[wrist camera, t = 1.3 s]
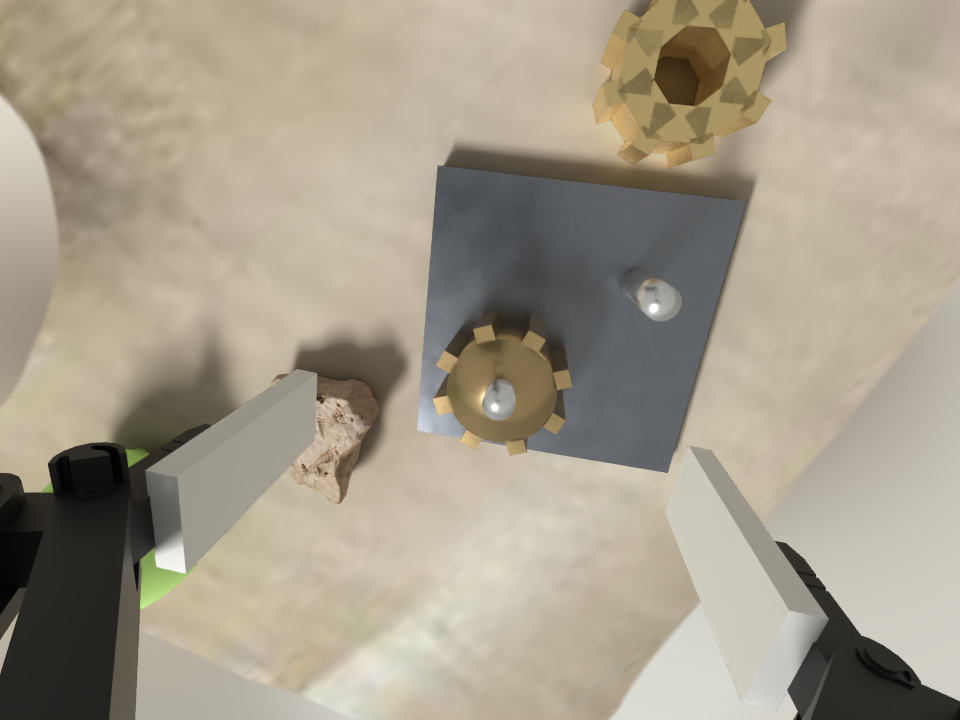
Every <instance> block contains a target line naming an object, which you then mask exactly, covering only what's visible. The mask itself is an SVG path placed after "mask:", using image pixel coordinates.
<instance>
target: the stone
mask: <svg viewBox="0 0 960 720" xmlns="http://www.w3.org/2000/svg"><path fill="white" fill-rule="evenodd" d="M287 375H289V374H282V375H278V376H277V377H276V378H275V379H274V380H272V385H274V384H275V383H277V382H278V381H280V380H281V379H283V378H284V377H286V376H287ZM272 385H271V386H272ZM379 412H380V409H379V407H378V403H377V400H376V399H375V398H374V397H373V393H372V390H371V388H370V387H369V386H368V385H367V384H366V383H364V382H362V381H359V380H355V379H350V380H348V381H345V380H340V381H337V380H335V379H329V378H326V377H321V376H317V397H316V427H315V441H314V442H313V443H312V444H311V445H310V446H309V447H308V448H307V449H306V450H305V451H304V452H303V453H302V454H301V455H300V456H299V457H298V458H297V459H296V460H295V461H294V462H293V463H292V467H291V474H292V477H293V478H294V480H295V481H296V482H297V483H298V484H306V485H307V486H308V487H310V488H312V489H314V490H316V491H318V492H320V493H321V494H322V495H323V496H325V497H326V498H327V499H328V500H330V501H331V502H333V503H334V504H340V503H341V502H342V500H343V499H344V497H345V496H346V494H347V489H348V485H349V479H350V476H351V474H352V469H353V467H354V465H355V463H356V461H357V460H358V457H359V453H360V447H361V443H362V440H363V438H364V436H365V435H366V433H367V431H368V429H369V428H370V427H371V426H372V424H373V423H374V421H375V419H377V416H378V414H379Z"/></svg>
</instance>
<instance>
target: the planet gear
mask: <svg viewBox="0 0 960 720" xmlns="http://www.w3.org/2000/svg"><path fill="white" fill-rule="evenodd" d="M785 49H787V43H786V31H785V22H783V23H780V24H778V25H775V26H772V27H769V28H766V29H765V27H764V25H763V24H762V22H761V20H760V18H759V17H758V15H757V13H756V11H755V10H754V8H753V6H752V4H751V2H750V1H749V0H651V2H650V4H649V6H648V8H647V10H646V12H645V14H644V15H643V16H642V17H641V18H639V17H638V16H636V15H634V14H633V13H631V12H630V11H628V10H626V9H625V10H624V12H623V14H622V16H621V17H620V19H619V21H618V23H617V25H616V26H615V28H614V30H613V32H612V34H611V36H610V39H609V42H608V44H607V47H606V49H605V52H604V54H603V57H602V60H601V63H602V64H604V65H605V66H607V67H609V68H610V69H612V76H611V81H610V82H607V83H604V84H602V87H601V89H600V91H599V93H598V95H597V97H596V99H595V101H594V104H593V107H594V112H595V117H596V123H597V124H599V123H602V122H605V121H608V120H611V121H612V122H613V124H614V125H615V127H616V128H617V130H618V132H619V133H620V135H621V136H622V138H623V139H624V141H625V143H624V144H623V146H622V148H621V149H620V151H619V153H618V154H617V155H618V156H620V157H622V158H623V159H625V160H627V161H628V162H630V163H631V164H634V163H636V162H638V161H639V160H641V159H643V158H645V157H647V156H649V155H650V153H651V152H653V153H663V154H667V159H668V166H669V168H671V167H675V166H678V165H681V164H685V163H688V162H691V161H694V160H697V159H700V158H703V157H706V156H709V155H712V154H715V147H714V139H713V136H714V135H715V134H717V135H719V136H720V137H724V136H726V135H728V134H731V133H733V132H736V131H738V130H740V129H743V128H745V127H748V126H750V125H752V124H755V123H757V121H758V120H759V118H760V117H761V115H762V114H763V113H764V111H765V110H766V108H767V107H768V105H769V104H770V103H771V101H772V100H770V99H769V98H767V97H765V96H764V95H762V94H761V93H759V92H758V88H759V85H760V81H761V77H762V74H763V70H764V67H765V63H766V62H767V61H769V60H770V59H772V58H773V57H775V56H776V55H778V54H779V53H781V52H782V51H784V50H785ZM661 57H672V58H683V59H687V60H688V62H689V63H690V65H691V67H692V68H693V70H694V71H695V73H696V75H697V76H698V78H699V80H700V81H699V85H698V89H697V93H696V98H695V102H694V106H688V105H678V104H669V103H668V101H667V100H666V98H665V97H664V95H663V93H662V92H661V90H660V89H659V87H658V85H657V84H656V82H655V81H654V76H655V71H656V67H657V62H658V60H659V59H660V58H661Z"/></svg>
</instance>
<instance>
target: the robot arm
mask: <svg viewBox="0 0 960 720" xmlns="http://www.w3.org/2000/svg"><path fill="white" fill-rule="evenodd" d="M316 397H317V373H314V372H309V371H304V370H299V369H296V370H295V371H293V372H292V373H290V374H289V375H287V376H286V377H284V378H283V379H281V380H280V381H278V382H277V383H275V384H274V385H272V386H271V387H269V388H268V389H266V390H265V391H263V392H262V393H260V394H259V395H257V396H256V397H254V398H253V399H252V400H250V401H249V402H247V403H246V404H244V405H243V406H241V407H240V408H238V409H237V410H235V411H234V412H232V413H231V414H229V415H228V416H226V417H225V418H223V419H222V420H220V421H219V422H217V423H216V424H214V425H208V424H204V425H201V426H199V427H196V428H193V429H190V430H187V431H185V432H184V433H182V434H181V435H179V436H177V437H176V438H174V439H173V440H172V441H171V442H168V443H166V444H165V445H163V446H162V447H160V449H159V450H155V451H154V452H152V453H151V454H149V455H147V456H146V457H144V458H143V459H141V460H139V461H138V462H136V463H135V464H133V465H132V466H130V467H128V460H127V453H126V450H125V448H124V447H123V446H121V445H119V444H115V443H108V442H101V443H90V444H85V445H80V446H76V447H73V448H70V449H67V450H65V451H63V452H61V453H59V454H58V455H56V456H54V457H53V458H52V459H51V461H50V462H49V463H48V467H49V472H50V477H51V482H52V487H53V492H43V493H24V490H23V486H22V482H21V480H20V478H19V476H16V475H13V474H10V473H0V639H1V638H2V636H3V635H4V633H5V632H6V630H7V629H8V627H9V626H10V624H11V622H12V621H13V620H14V618H15V617H16V615H17V614H18V612H19V614H18V618H17V621H16V624H15V627H14V631H13V634H12V637H11V640H10V644H9V647H8V650H7V654H6V657H5V660H4V663H3V667H2V670H1V673H0V720H135V710H136V686H137V666H138V643H139V642H138V641H139V621H140V599H141V577H142V568H141V559H142V558H143V557H144V556H145V555H146V554H147V553H149V552H150V551H151V550H152V549H153V548H154V551H155V560H156V567H159V568H163V569H167V570H172V571H176V572H180V573H185V574H186V573H187V572H188V571H189V570H190V569H191V568H192V567H193V566H194V565H195V564H196V563H197V562H198V561H199V560H200V559H201V558H202V557H203V556H204V555H205V553H206V552H207V551H208V550H209V549H210V548H211V547H212V546H213V545H214V544H215V543H216V542H217V541H218V540H219V539H220V538H221V537H222V536H223V535H224V534H225V533H226V532H227V531H228V530H229V529H230V528H231V527H232V526H233V525H234V523H235V522H236V521H237V520H238V519H239V518H240V517H241V516H242V515H243V514H244V513H245V512H246V511H247V510H248V509H249V508H250V507H251V506H252V505H253V504H254V503H255V502H256V501H257V500H258V499H259V498H260V497H261V496H262V495H263V493H264V492H265V491H266V490H267V489H268V488H269V487H270V486H271V485H272V484H273V483H274V482H275V481H276V480H277V479H278V478H279V477H280V476H281V475H282V474H283V473H284V472H285V471H286V470H287V469H288V468H289V467H290V466H291V465H292V463H293V462H294V461H295V460H296V459H297V458H298V457H299V456H300V455H301V454H302V453H303V452H304V451H305V450H306V449H307V448H308V447H309V446H310V445H311V444H312V443H313V442H314V441H315V427H316ZM665 514H666V516H667V519H668V521H669V524H670V526H671V529H672V531H673V534H674V536H675V539H676V541H677V544H678V546H679V549H680V551H681V554H682V556H683V559H684V561H685V564H686V566H687V569H688V571H689V574H690V576H691V579H692V581H693V584H694V586H695V589H696V591H697V594H698V596H699V598H700V601H701V603H702V606H703V608H704V611H705V613H706V616H707V618H708V621H709V623H710V626H711V628H712V631H713V633H714V636H715V638H716V641H717V643H718V646H719V648H720V651H721V653H722V656H723V658H724V661H725V663H726V666H727V668H728V671H729V673H730V676H731V678H732V680H733V683H734V685H735V688H736V690H737V693H738V695H739V698H740V700H741V703H742V704H747V705H751V706H755V707H759V708H764V709H768V710H773V711H776V712H777V711H778V710H779V708H780V706H781V704H782V703H783V701H784V699H785V697H786V695H787V693H789V695H790V697H791V699H792V701H793V702H794V704H795V706H796V708H797V710H798V713H797V714H796V716H795V718H794V719H793V720H960V701H958V700H956V699H954V698H951V697H949V696H947V695H945V694H942V693H940V692H938V691H935V690H933V689H931V688H929V687H927V686H924V685H922V684H921V681H920V680H919V678H918V677H917V675H916V674H915V673H914V671H913V670H912V669H911V668H910V666H908V665H907V664H906V663H905V662H904V661H903V660H902V659H901V658H900V657H899V656H898V655H896V654H894V653H893V652H892V651H891V650H889V649H887V648H886V647H885V646H883V645H882V644H880V643H878V642H876V641H874V640H872V639H870V638H867V637H864V636H861V635H860V633H859V632H858V631H857V629H856V628H855V627H854V625H853V624H852V622H851V621H850V620H849V618H848V617H847V616H846V614H845V613H844V612H843V610H842V609H841V608H840V606H839V605H838V604H837V602H836V601H835V600H834V598H833V597H832V596H831V594H830V593H829V592H828V591H826V588H825V586H824V585H823V584H822V582H821V581H820V580H819V578H816V574H815V573H814V571H813V570H812V569H811V567H810V566H809V565H808V563H807V562H806V561H805V559H804V558H803V557H801V556H800V555H799V554H798V553H796V551H794V550H793V549H792V548H791V547H789V545H787V544H786V543H783V542H777V541H774V540H773V538H772V537H771V535H770V534H769V532H768V531H767V529H766V528H765V527H764V525H763V524H762V522H761V521H760V519H759V518H758V517H757V515H756V514H755V512H754V511H753V509H752V508H751V506H750V505H749V504H748V502H747V501H746V499H745V498H744V496H743V495H742V494H741V492H740V491H739V489H738V488H737V486H736V485H735V483H734V482H733V481H732V479H731V478H730V476H729V475H728V473H727V472H726V470H725V469H724V468H723V466H722V465H721V463H720V462H719V460H718V459H717V458H716V456H715V455H714V453H713V452H712V450H707V449H702V448H697V447H692V446H688V448H687V451H686V454H685V457H684V460H683V462H682V465H681V468H680V471H679V474H678V477H677V479H676V482H675V485H674V488H673V491H672V494H671V496H670V499H669V502H668V505H667V508H666V511H665Z"/></svg>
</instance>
